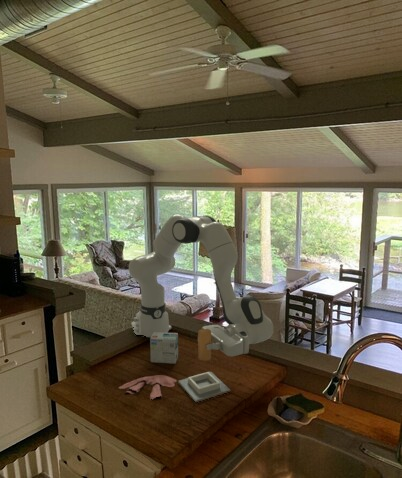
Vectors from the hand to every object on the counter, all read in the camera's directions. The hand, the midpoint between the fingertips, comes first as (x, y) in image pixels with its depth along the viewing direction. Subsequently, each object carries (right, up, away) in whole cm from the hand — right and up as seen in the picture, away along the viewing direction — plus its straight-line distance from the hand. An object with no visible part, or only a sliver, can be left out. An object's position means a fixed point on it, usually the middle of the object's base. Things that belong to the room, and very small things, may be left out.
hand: (202, 343), depth 136 cm
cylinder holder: (0, -17, +4) cm, 17 cm away
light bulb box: (-16, -13, +24) cm, 32 cm away
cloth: (-20, -18, +3) cm, 27 cm away
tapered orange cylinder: (+1, -5, +1) cm, 6 cm away
